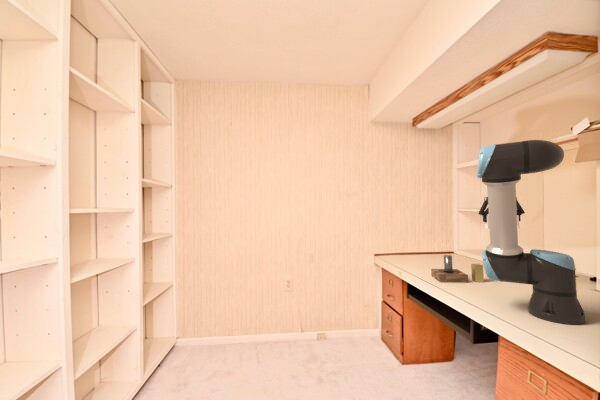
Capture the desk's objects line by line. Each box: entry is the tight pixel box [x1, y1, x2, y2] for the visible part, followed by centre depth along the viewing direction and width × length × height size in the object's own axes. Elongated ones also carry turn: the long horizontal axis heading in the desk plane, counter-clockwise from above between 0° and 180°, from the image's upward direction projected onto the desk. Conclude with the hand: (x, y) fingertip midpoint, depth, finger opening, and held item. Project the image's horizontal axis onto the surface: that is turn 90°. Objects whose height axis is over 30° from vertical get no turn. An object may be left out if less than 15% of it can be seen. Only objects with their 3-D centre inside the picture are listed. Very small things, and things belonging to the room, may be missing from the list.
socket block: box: [430, 268, 469, 283], centre depth 149 cm, size 14×14×4 cm
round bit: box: [443, 254, 454, 273], centre depth 149 cm, size 4×4×12 cm
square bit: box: [470, 263, 485, 283], centre depth 143 cm, size 4×4×9 cm
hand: (501, 228), depth 136 cm, fingers open, 13 cm apart
